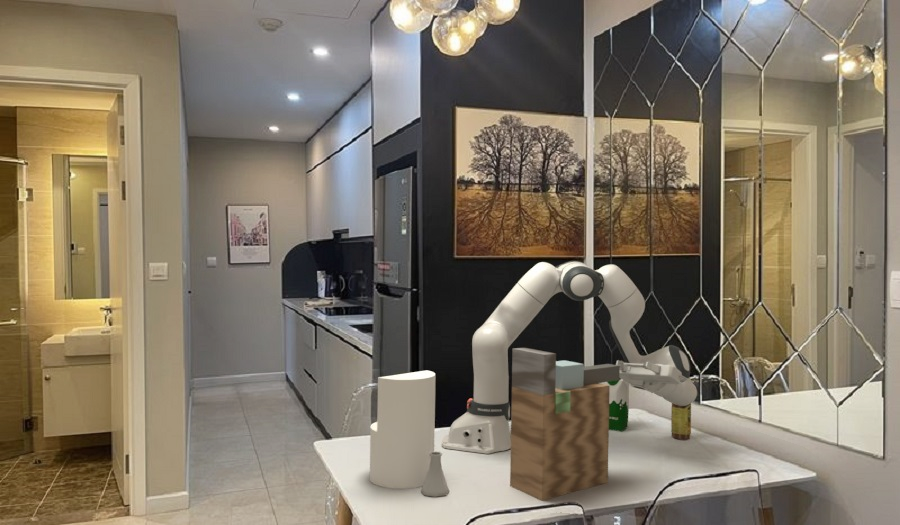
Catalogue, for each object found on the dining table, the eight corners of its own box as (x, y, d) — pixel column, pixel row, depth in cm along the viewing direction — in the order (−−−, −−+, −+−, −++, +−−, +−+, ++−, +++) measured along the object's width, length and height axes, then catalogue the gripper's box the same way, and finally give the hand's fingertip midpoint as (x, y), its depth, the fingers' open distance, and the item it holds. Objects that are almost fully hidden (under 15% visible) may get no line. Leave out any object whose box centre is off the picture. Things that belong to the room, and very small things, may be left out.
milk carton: (598, 428, 229) (599, 372, 228) (607, 423, 236) (608, 368, 236) (623, 432, 224) (624, 374, 224) (631, 427, 232) (632, 371, 231)
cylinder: (446, 478, 175) (448, 374, 174) (397, 493, 163) (399, 382, 162) (405, 462, 187) (407, 366, 187) (356, 476, 175) (358, 372, 175)
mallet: (561, 389, 166) (562, 366, 166) (542, 385, 172) (543, 362, 172) (623, 380, 180) (624, 359, 180) (604, 376, 186) (604, 356, 186)
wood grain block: (542, 500, 159) (545, 354, 159) (509, 485, 170) (511, 348, 169) (608, 482, 173) (611, 348, 173) (574, 469, 183) (576, 342, 183)
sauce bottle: (692, 441, 215) (693, 381, 215) (672, 439, 216) (673, 380, 216) (689, 435, 221) (690, 377, 221) (669, 434, 222) (670, 376, 222)
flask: (448, 487, 168) (449, 448, 168) (449, 497, 161) (450, 457, 160) (420, 487, 168) (421, 448, 167) (420, 497, 160) (421, 457, 160)
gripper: (687, 392, 185) (660, 376, 178) (629, 387, 201) (601, 372, 194) (691, 371, 187) (664, 354, 180) (633, 367, 203) (606, 352, 196)
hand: (631, 363), depth 187 cm, fingers open, 8 cm apart
